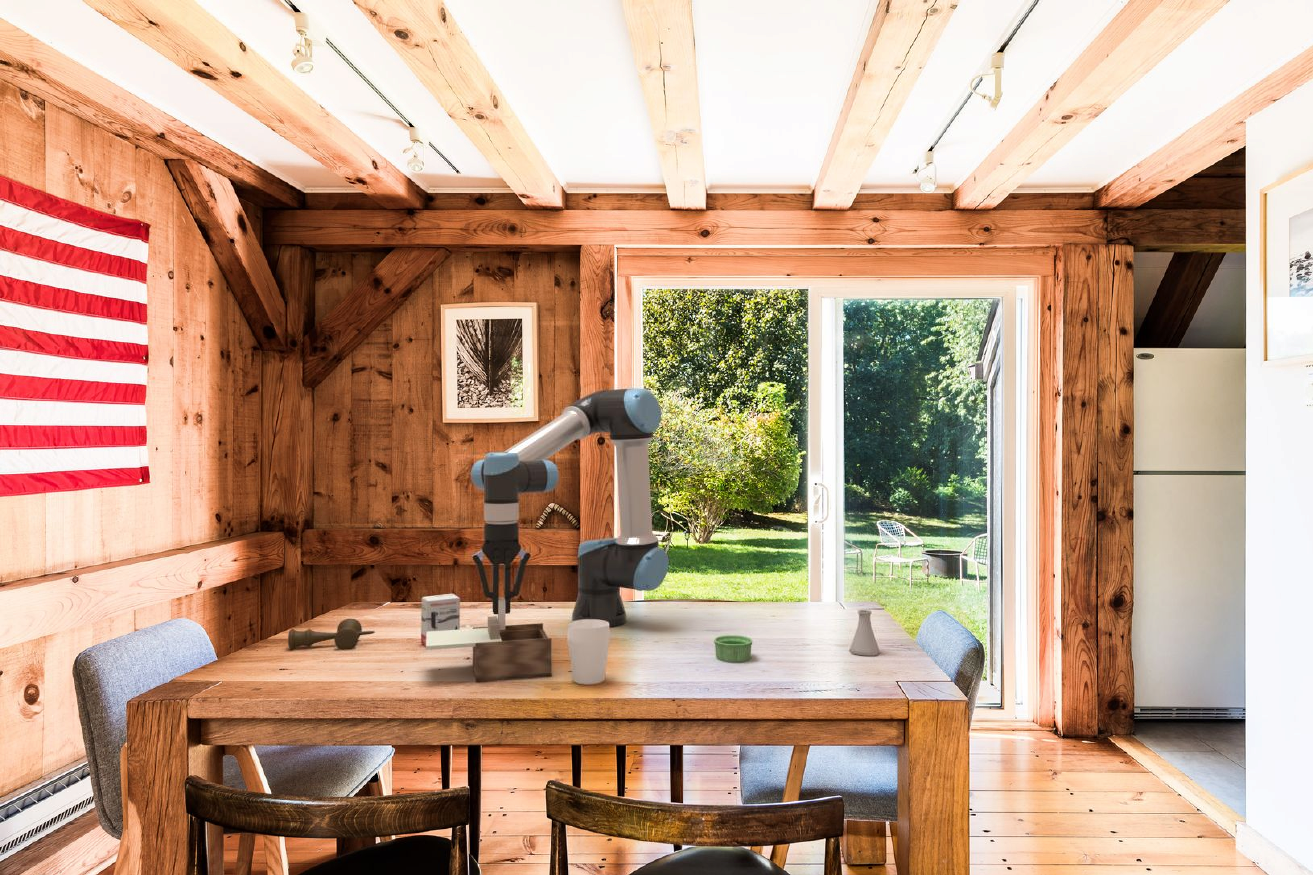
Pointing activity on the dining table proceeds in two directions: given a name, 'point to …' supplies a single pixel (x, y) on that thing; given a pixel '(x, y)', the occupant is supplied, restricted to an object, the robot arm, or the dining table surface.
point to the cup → (588, 650)
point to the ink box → (439, 614)
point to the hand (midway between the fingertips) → (501, 628)
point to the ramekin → (733, 648)
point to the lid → (463, 636)
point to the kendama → (329, 636)
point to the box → (514, 654)
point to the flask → (864, 637)
